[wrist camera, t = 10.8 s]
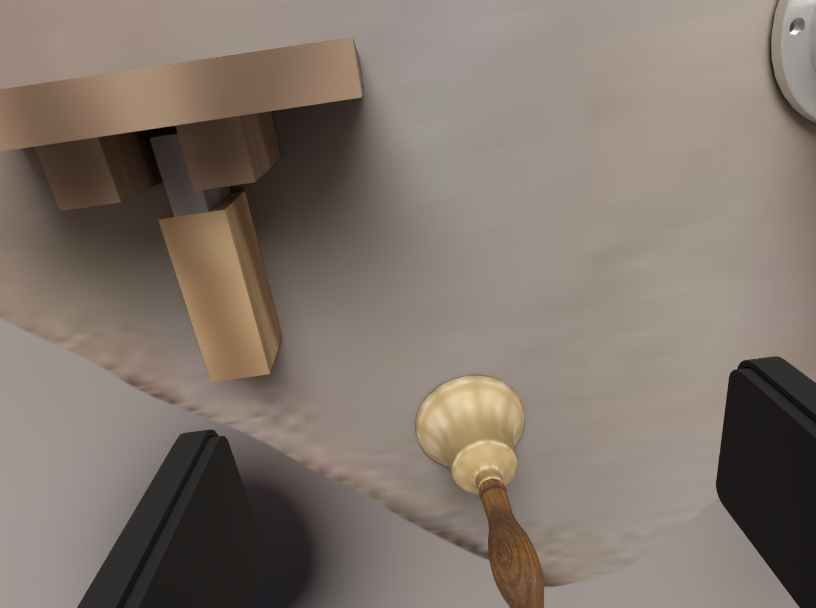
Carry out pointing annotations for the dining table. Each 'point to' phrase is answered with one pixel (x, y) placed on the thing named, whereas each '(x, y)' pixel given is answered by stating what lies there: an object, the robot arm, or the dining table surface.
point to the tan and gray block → (218, 270)
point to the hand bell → (485, 471)
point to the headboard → (171, 119)
